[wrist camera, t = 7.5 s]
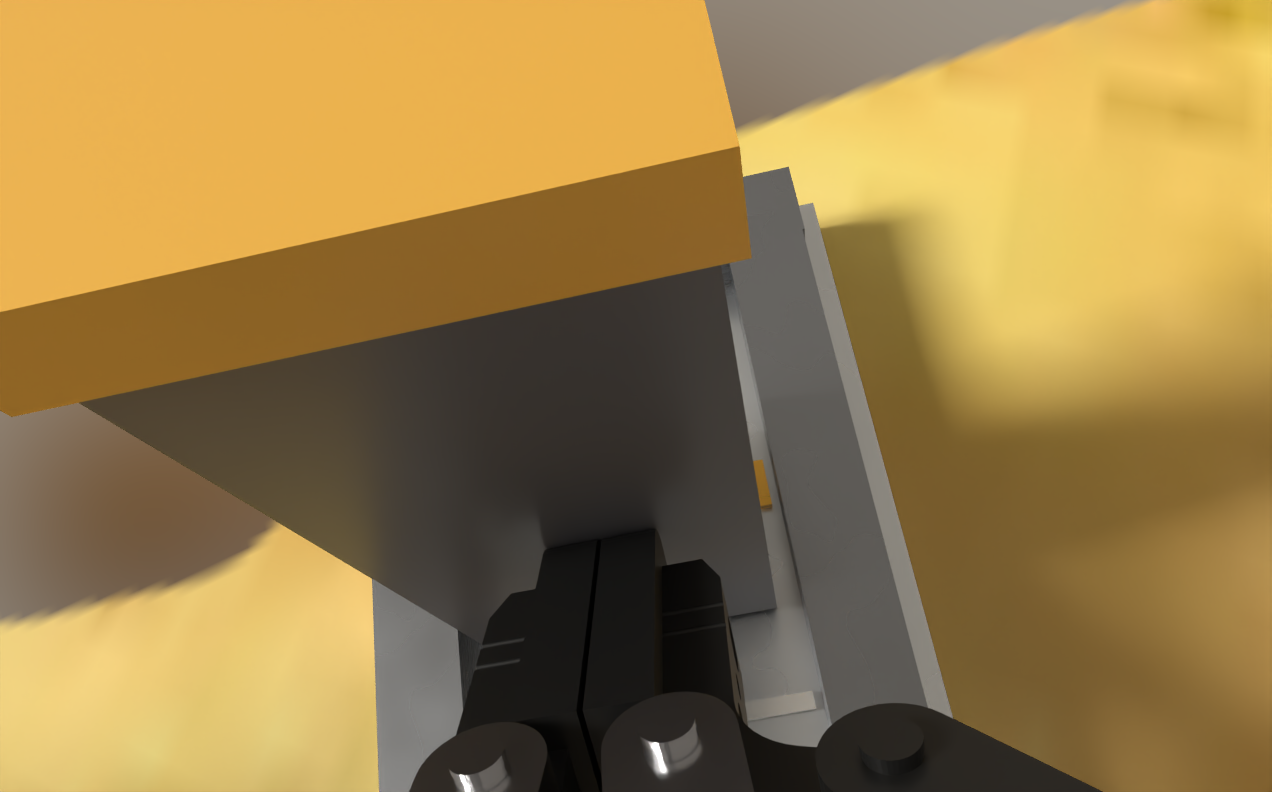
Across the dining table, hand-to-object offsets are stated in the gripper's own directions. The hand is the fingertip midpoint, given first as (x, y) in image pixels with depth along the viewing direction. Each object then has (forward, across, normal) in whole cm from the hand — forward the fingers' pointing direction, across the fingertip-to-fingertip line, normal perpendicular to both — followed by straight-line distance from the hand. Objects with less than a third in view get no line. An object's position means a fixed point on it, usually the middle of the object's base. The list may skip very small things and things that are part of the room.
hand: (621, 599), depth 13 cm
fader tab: (+5, 0, -2) cm, 6 cm away
